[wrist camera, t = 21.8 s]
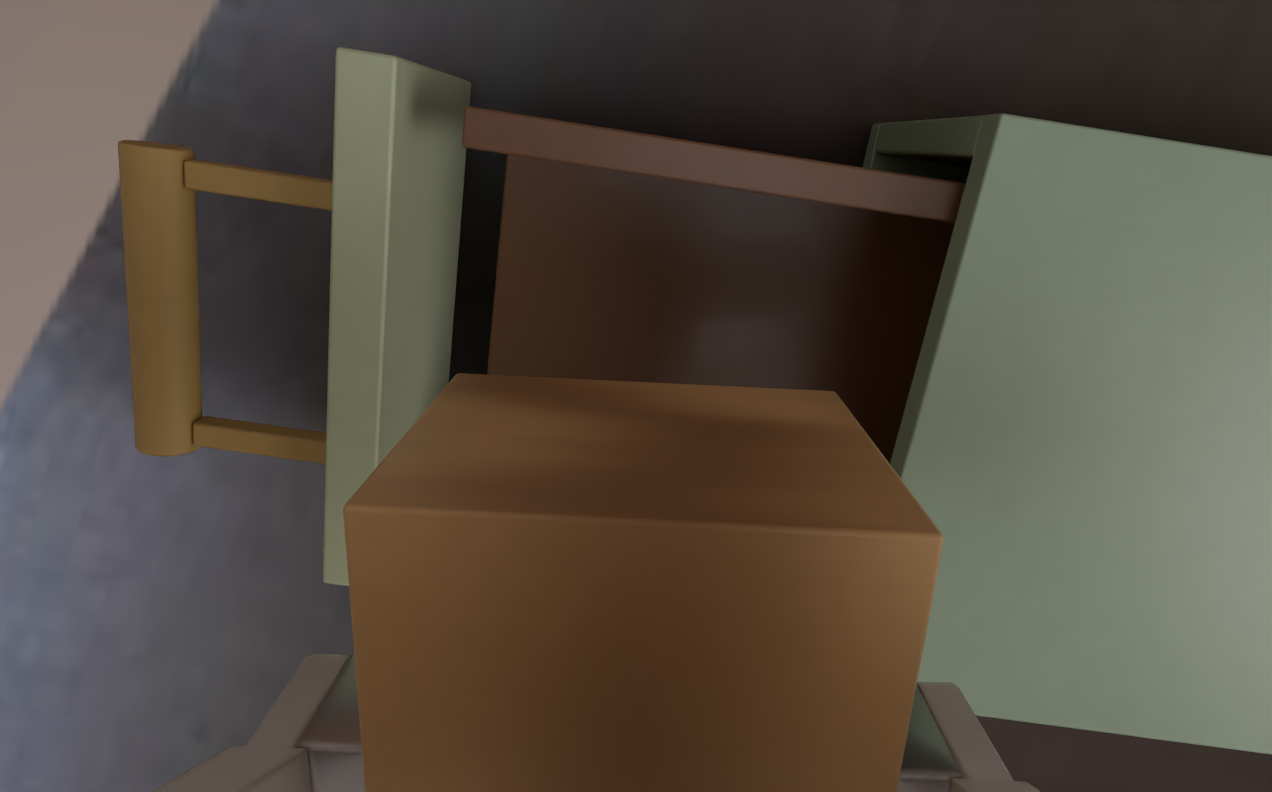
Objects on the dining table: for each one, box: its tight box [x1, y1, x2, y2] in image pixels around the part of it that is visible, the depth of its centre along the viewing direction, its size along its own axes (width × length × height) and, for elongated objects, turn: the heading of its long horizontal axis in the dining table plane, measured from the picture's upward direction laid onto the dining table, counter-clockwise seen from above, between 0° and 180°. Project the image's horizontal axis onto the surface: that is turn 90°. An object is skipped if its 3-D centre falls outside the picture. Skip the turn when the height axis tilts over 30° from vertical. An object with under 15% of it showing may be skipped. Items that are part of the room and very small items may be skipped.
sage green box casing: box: [863, 113, 1272, 754], centre depth 21 cm, size 18×13×9 cm
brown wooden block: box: [343, 373, 944, 792], centre depth 10 cm, size 5×8×4 cm, turn 177°
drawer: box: [118, 47, 966, 586], centre depth 20 cm, size 21×12×7 cm, turn 82°
